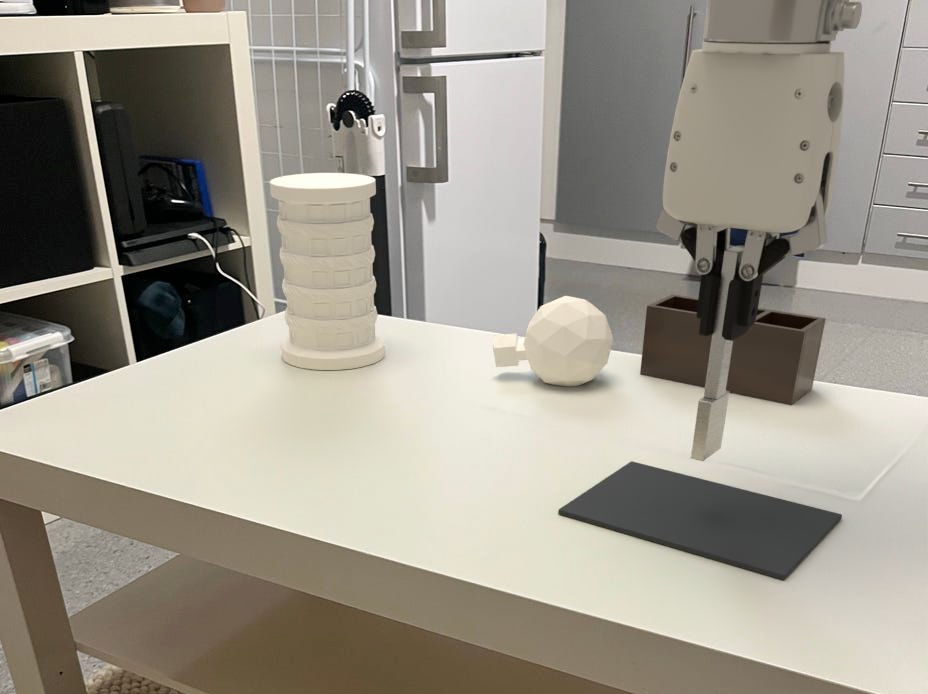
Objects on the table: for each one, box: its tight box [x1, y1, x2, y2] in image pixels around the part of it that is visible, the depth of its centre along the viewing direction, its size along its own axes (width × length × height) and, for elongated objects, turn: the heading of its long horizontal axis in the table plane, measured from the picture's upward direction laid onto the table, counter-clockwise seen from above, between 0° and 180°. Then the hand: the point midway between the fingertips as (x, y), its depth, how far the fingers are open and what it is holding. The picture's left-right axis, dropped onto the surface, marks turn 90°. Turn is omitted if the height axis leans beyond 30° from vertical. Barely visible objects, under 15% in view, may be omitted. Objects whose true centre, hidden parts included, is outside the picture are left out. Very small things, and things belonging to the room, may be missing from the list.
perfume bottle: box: [492, 295, 614, 387], centre depth 103 cm, size 9×9×12 cm
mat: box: [557, 460, 843, 581], centre depth 78 cm, size 18×12×1 cm, turn 54°
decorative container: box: [269, 172, 386, 371], centre depth 109 cm, size 12×12×18 cm
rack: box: [639, 293, 826, 406], centre depth 102 cm, size 6×16×8 cm, turn 54°
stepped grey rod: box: [690, 246, 744, 462], centre depth 71 cm, size 1×3×14 cm, turn 144°
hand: (723, 332), depth 70 cm, fingers closed on stepped grey rod, 1 cm apart
